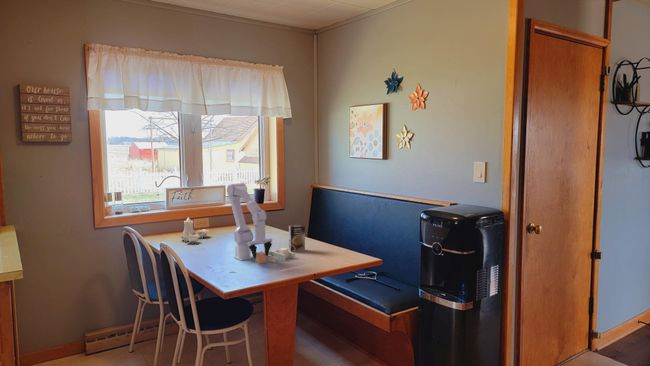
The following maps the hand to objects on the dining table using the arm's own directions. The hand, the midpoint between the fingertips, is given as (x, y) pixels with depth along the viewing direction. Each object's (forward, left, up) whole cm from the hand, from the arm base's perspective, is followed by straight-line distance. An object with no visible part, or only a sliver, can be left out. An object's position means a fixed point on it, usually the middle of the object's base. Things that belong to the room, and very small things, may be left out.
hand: (260, 256), depth 242 cm
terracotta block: (0, 0, -4) cm, 4 cm away
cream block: (0, +15, -3) cm, 16 cm away
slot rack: (-1, +12, -4) cm, 13 cm away
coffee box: (-9, +31, -4) cm, 33 cm away
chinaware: (-82, -6, -4) cm, 82 cm away
